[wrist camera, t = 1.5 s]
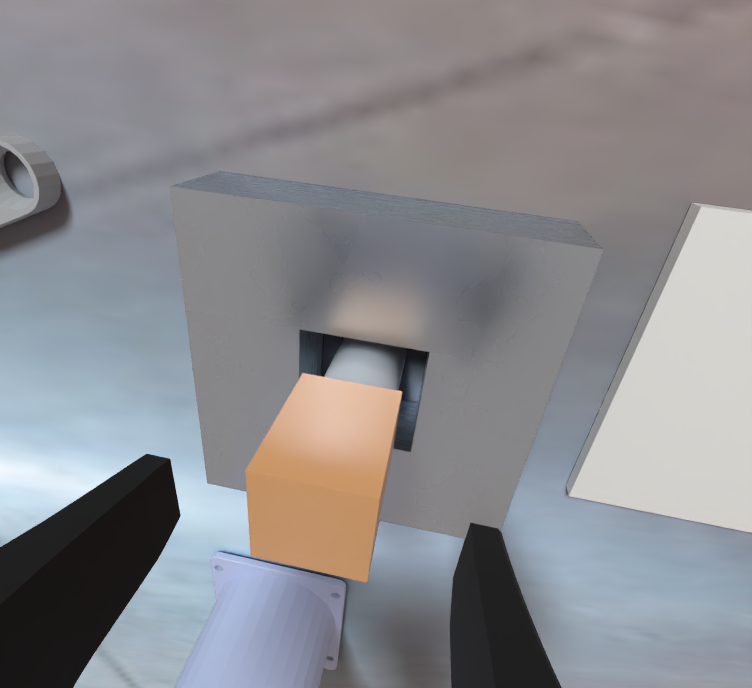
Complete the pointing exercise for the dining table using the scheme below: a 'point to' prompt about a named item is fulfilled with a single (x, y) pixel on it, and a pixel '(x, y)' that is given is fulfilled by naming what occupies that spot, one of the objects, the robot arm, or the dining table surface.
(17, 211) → the adjustable wrench
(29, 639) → the robot arm
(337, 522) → the key
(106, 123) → the dining table surface
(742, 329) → the mat
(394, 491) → the socket block
